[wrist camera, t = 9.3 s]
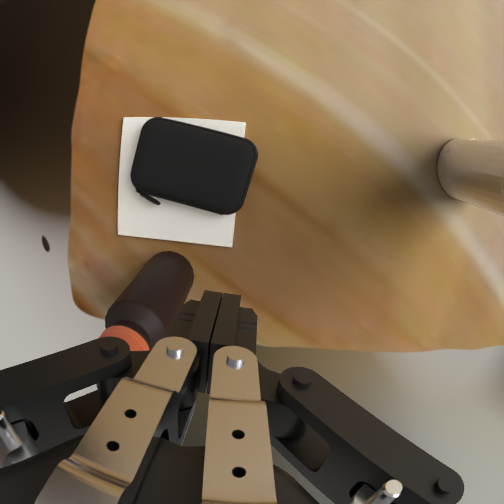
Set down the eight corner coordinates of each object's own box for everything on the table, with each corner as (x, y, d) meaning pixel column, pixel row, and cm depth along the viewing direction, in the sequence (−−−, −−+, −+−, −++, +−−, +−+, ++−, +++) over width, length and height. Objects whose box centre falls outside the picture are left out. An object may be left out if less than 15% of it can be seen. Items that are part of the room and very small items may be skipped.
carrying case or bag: (235, 230, 36) (121, 198, 35) (237, 224, 39) (130, 194, 38) (262, 142, 33) (141, 113, 32) (261, 143, 36) (150, 115, 35)
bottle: (139, 275, 42) (73, 358, 23) (165, 240, 41) (100, 313, 22) (176, 303, 44) (132, 400, 25) (204, 271, 42) (168, 364, 23)
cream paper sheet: (245, 123, 36) (245, 122, 35) (232, 245, 41) (232, 247, 40) (125, 117, 35) (123, 117, 35) (119, 233, 40) (117, 234, 40)
